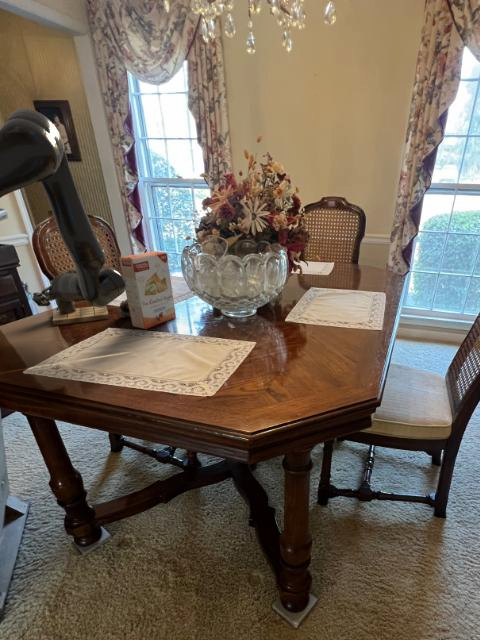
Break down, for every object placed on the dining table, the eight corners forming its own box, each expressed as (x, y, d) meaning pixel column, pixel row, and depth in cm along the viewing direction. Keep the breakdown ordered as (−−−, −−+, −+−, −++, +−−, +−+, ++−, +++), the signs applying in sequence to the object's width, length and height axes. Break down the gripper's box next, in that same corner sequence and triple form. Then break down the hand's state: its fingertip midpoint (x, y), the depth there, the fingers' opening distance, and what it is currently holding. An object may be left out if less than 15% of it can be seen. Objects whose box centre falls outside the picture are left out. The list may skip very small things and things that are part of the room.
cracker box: (146, 330, 116) (132, 258, 106) (132, 327, 118) (116, 256, 108) (177, 317, 127) (167, 251, 117) (164, 315, 129) (152, 250, 119)
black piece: (59, 314, 124) (49, 283, 119) (59, 310, 128) (50, 280, 123) (76, 312, 126) (67, 281, 121) (76, 308, 130) (67, 278, 125)
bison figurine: (116, 318, 125) (109, 288, 121) (129, 312, 131) (123, 283, 126) (148, 322, 123) (142, 290, 118) (160, 315, 129) (155, 285, 124)
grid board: (54, 325, 119) (52, 320, 119) (55, 315, 129) (54, 310, 128) (109, 318, 126) (108, 313, 125) (106, 309, 135) (105, 304, 134)
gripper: (82, 260, 105) (56, 263, 114) (41, 291, 98) (17, 291, 107) (101, 284, 110) (75, 284, 119) (63, 315, 103) (38, 312, 112)
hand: (47, 287), depth 113 cm, fingers open, 8 cm apart
